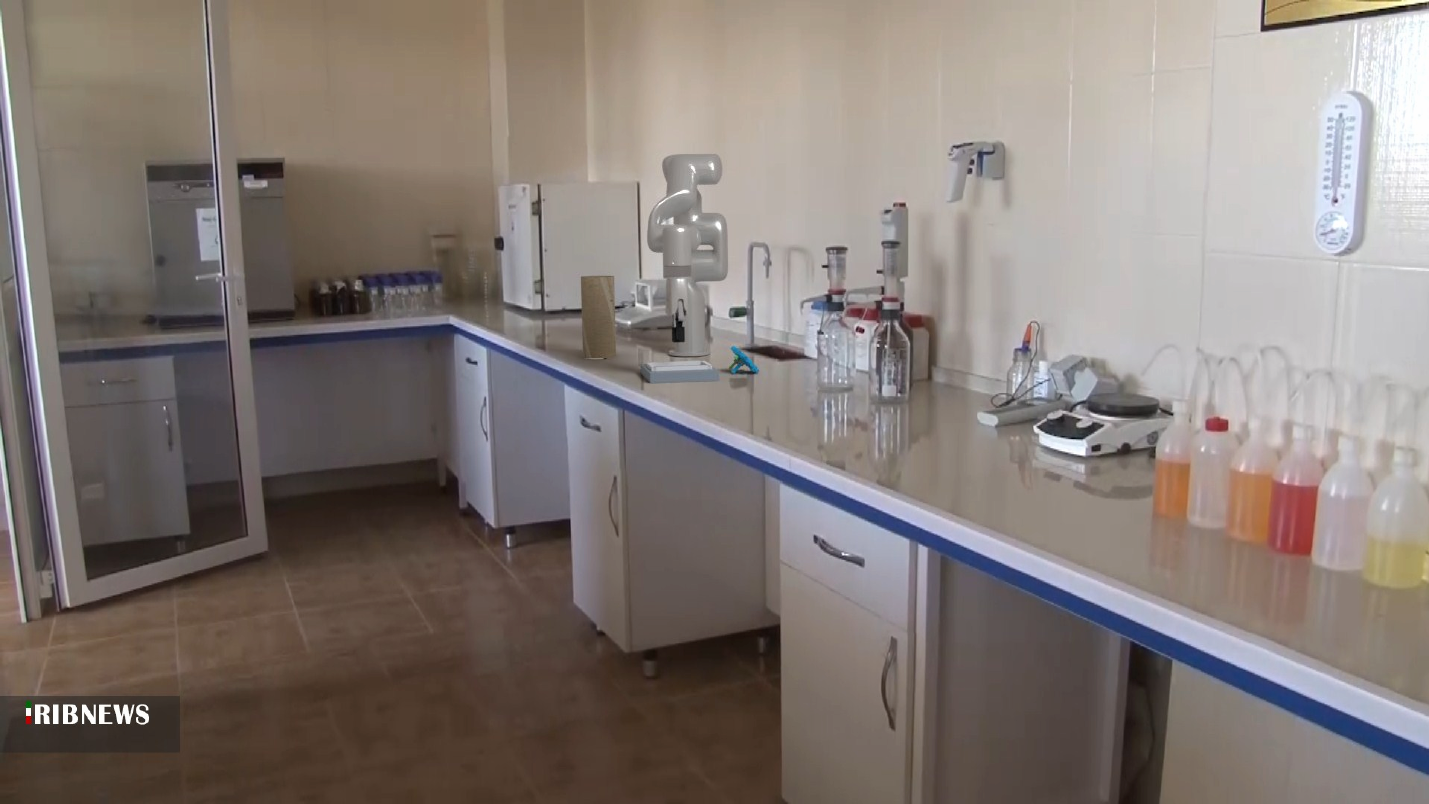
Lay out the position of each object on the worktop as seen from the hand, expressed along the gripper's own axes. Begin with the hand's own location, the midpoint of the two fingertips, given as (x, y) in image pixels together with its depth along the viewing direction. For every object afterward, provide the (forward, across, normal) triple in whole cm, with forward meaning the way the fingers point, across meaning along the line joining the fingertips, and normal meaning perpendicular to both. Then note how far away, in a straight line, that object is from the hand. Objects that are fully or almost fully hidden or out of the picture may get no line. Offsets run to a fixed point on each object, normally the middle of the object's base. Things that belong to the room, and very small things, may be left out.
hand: (678, 341), depth 306 cm
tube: (+10, -47, -17) cm, 51 cm away
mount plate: (+9, 0, 0) cm, 9 cm away
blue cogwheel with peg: (+11, -2, +20) cm, 23 cm away
